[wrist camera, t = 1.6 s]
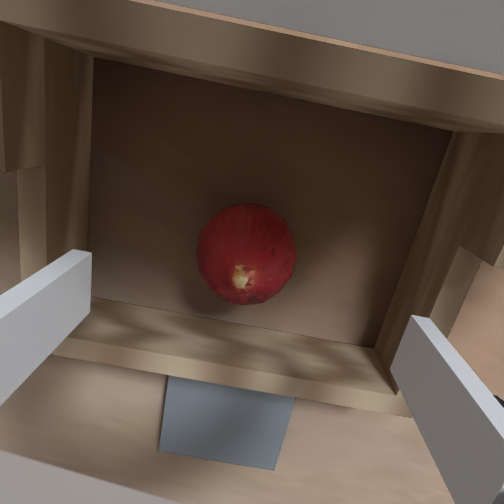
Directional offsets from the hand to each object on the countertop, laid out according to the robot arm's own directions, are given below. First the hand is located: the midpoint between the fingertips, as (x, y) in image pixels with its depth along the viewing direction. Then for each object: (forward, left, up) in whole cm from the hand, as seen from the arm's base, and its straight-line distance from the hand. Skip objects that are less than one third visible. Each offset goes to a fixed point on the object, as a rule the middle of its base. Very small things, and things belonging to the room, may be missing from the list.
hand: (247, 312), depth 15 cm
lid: (0, +14, +7) cm, 15 cm away
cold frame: (0, +1, -10) cm, 10 cm away
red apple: (0, 0, -11) cm, 11 cm away
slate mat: (+1, -15, -10) cm, 18 cm away
